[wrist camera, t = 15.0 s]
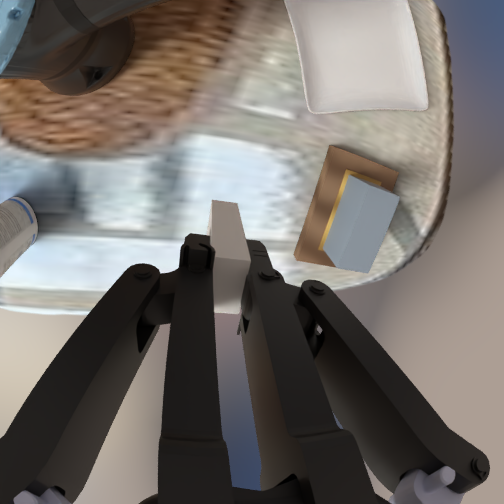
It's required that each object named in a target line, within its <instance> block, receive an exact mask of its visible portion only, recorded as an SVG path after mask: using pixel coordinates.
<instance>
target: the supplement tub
mask: <svg viewBox="0 0 504 504" xmlns="http://www.w3.org/2000/svg"><path fill="white" fill-rule="evenodd" d="M37 232H38V224H37V219H36V216H35V214H34V211H33V209H32V208H31V206H30V205H29V204H28V203H27V202H26V201H25V200H23V199H21V198H19V197H12V198H9V199H8V200H6V201H4V202H3V203H1V204H0V277H1V276H2V275H3V274H4V273H5V272H6V271H7V270H8V269H9V268H10V266H11V265H12V264H13V263H14V262H15V261H16V260H17V259H18V258H19V257H20V256H21V255H22V254H23V253H24V252H25V251H26V250H27V249H28V248H29V247H30V246H31V245H32V244H33V243H34V241H35V239H36V237H37Z"/></svg>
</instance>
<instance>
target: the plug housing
mask: <svg viewBox="0 0 504 504" xmlns="http://www.w3.org/2000/svg"><path fill="white" fill-rule="evenodd" d="M399 199H400V197H399V196H398V195H396V194H394V193H392V192H390V191H388V190H387V189H385V188H383V187H381V186H379V185H377V184H374V183H371V182H369V181H366V180H363V179H360V178H358V177H355V176H352V175H349V176H348V179H347V182H346V185H345V188H344V191H343V194H342V197H341V200H340V202H339V205H338V208H337V211H336V214H335V217H334V219H333V222H332V225H331V227H330V230H329V233H328V236H327V238H326V241H325V243H324V246H323V250H324V251H325V252H326V254H327V255H328V256H329V258H330V259H331V260H332V262H333V263H334V265H335V266H336V267H337V268H340V269H345V270H351V271H357V272H362V273H369V271H370V268H371V266H372V264H373V262H374V260H375V257H376V255H377V253H378V251H379V248H380V246H381V244H382V242H383V239H384V237H385V234H386V232H387V230H388V227H389V225H390V222H391V220H392V217H393V215H394V212H395V210H396V207H397V204H398V202H399Z"/></svg>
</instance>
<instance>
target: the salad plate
mask: <svg viewBox="0 0 504 504" xmlns="http://www.w3.org/2000/svg"><path fill="white" fill-rule="evenodd" d="M284 3H285V6H286V9H287V12H288V15H289V18H290V21H291V25H292V28H293V32H294V36H295V40H296V44H297V49H298V54H299V59H300V65H301V71H302V79H303V86H304V93H305V99H306V104H307V107H308V109H309V111H310V112H311V113H314V114H329V113H339V112H349V111H362V110H407V111H425V110H427V109H428V93H427V85H426V79H425V72H424V67H423V61H422V56H421V51H420V46H419V41H418V37H417V32H416V28H415V24H414V20H413V17H412V13H411V9H410V6H409V3H408V0H284Z"/></svg>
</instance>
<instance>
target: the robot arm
mask: <svg viewBox="0 0 504 504" xmlns="http://www.w3.org/2000/svg"><path fill="white" fill-rule="evenodd" d="M167 1H170V0H0V79H31V80H39V81H41V82H42V83H43V84H44V85H45V86H46V87H47V88H48V89H50V90H51V91H53V92H55V93H58V94H61V95H70V96H78V95H84V94H87V93H90V92H93V91H95V90H97V89H99V88H100V87H102V86H103V85H105V84H106V83H107V82H109V81H110V80H111V79H112V78H113V77H114V76H115V75H116V74H117V73H118V72H119V70H120V69H121V68H122V66H123V65H124V64H125V62H126V60H127V58H128V56H129V54H130V52H131V49H132V46H133V42H134V25H133V22H132V20H131V18H130V16H129V15H132V14H134V13H137V12H139V11H142V10H144V9H147V8H150V7H153V6H155V5H158V4H161V3H164V2H167ZM240 306H241V309H242V314H241V319H240V322H239V327H238V330H237V335H239V334H240V331H241V333H242V341H243V348H244V355H245V362H246V369H247V376H248V383H249V389H250V395H251V402H252V408H253V414H254V421H255V428H256V434H257V440H258V446H259V452H260V458H261V465H262V466H261V467H262V469H261V475H260V485H261V491H257V490H250V489H243V488H237V487H232V482H231V474H230V465H229V456H228V450H227V445H226V442H225V441H224V440H223V437H222V429H221V417H220V404H219V391H218V376H217V360H216V342H215V320H214V312H218V313H231V314H239V311H240ZM168 323H171V325H170V334H169V342H168V352H167V361H166V371H165V383H164V396H163V411H162V429H161V436H160V439H159V451H158V494H155V495H153V496H151V497H149V498H147V499H145V500H143V501H142V502H140V503H139V504H460V502H461V500H462V498H463V496H464V494H465V493H466V492H467V491H469V490H471V489H473V488H475V487H476V486H478V485H480V484H481V483H483V482H484V481H485V480H486V479H487V477H488V475H489V471H490V465H489V460H488V458H487V456H486V455H485V454H484V453H483V452H482V451H480V450H479V449H477V448H476V447H475V446H473V445H472V444H470V443H469V442H467V441H466V440H465V439H463V438H462V437H460V436H459V435H457V434H456V433H455V432H453V431H452V430H450V429H449V428H448V427H447V425H446V424H445V423H444V422H443V420H442V419H441V418H440V416H439V415H438V414H437V413H436V411H434V409H433V408H432V407H431V405H430V404H429V403H428V402H427V401H426V399H425V398H424V397H423V395H422V394H421V393H420V392H419V391H418V389H417V388H416V387H415V386H414V384H413V383H412V382H411V381H410V380H409V379H408V377H407V376H406V375H405V374H404V373H403V371H402V370H401V369H400V368H399V366H398V365H397V364H396V363H395V362H394V361H393V359H392V358H391V357H390V356H389V355H388V354H387V352H386V351H385V350H384V349H383V348H382V346H381V345H380V344H379V343H378V342H377V341H376V340H375V338H374V337H373V336H372V335H371V334H370V333H369V331H368V330H367V329H366V328H365V327H364V326H363V325H362V324H361V322H360V321H359V320H358V319H357V318H356V317H355V316H354V314H352V312H351V311H350V310H349V309H348V308H347V307H346V305H345V304H344V303H343V302H342V301H341V300H340V299H339V298H338V297H337V295H336V294H335V293H334V292H333V291H332V290H331V289H330V288H329V287H328V286H327V285H326V284H324V283H322V282H320V281H317V280H306V281H304V282H303V283H302V285H301V288H300V287H297V286H293V285H290V284H287V283H285V281H284V278H283V276H282V275H281V273H279V272H278V271H277V270H275V269H273V267H272V264H271V261H270V258H269V256H268V253H267V250H266V247H265V246H264V245H263V244H262V243H261V242H260V241H256V240H248V239H246V238H245V234H244V230H243V225H242V221H241V217H240V213H239V209H238V205H237V203H231V202H224V201H217V200H212V204H211V210H210V216H209V223H208V230H207V235H200V234H192V233H190V234H189V235H188V236H186V237H185V242H184V244H183V245H182V246H181V250H180V262H179V268H178V269H176V270H175V271H172V272H169V273H162V274H160V272H159V269H157V268H156V267H155V266H153V265H150V264H145V263H142V264H135V265H132V266H130V267H129V268H128V269H127V270H126V271H125V272H124V273H123V274H122V275H121V276H120V278H119V279H118V280H117V281H116V282H115V283H114V284H113V286H112V287H111V288H110V289H109V290H108V291H107V293H106V294H105V295H104V296H103V297H102V298H101V300H100V301H99V302H98V303H97V304H96V306H95V307H94V308H93V309H92V310H91V312H90V313H89V314H88V315H87V317H86V318H85V319H84V320H83V322H82V323H81V324H80V325H79V327H78V328H77V329H76V330H75V332H74V333H73V334H72V336H71V337H70V338H69V339H68V341H67V342H66V343H65V345H64V346H63V347H62V349H61V350H60V351H59V353H58V354H57V355H56V357H55V358H54V360H53V361H52V362H51V364H50V365H49V367H48V368H47V369H46V371H45V372H44V374H43V375H42V377H41V378H40V380H39V381H38V382H37V384H36V385H35V387H34V388H33V390H32V391H31V393H30V394H29V396H28V397H27V399H26V400H25V402H24V404H23V405H22V407H21V409H20V410H19V412H18V413H17V415H16V416H15V418H14V420H13V422H12V423H11V425H10V427H9V428H8V430H7V432H6V433H5V435H4V436H3V437H2V438H0V504H73V502H74V501H75V500H76V499H77V497H78V496H79V494H80V493H81V491H82V490H83V488H84V486H85V484H86V482H87V480H88V477H89V475H90V473H91V470H92V468H93V466H94V464H95V461H96V459H97V457H98V454H99V452H100V450H101V447H102V445H103V443H104V441H105V438H106V436H107V434H108V432H109V429H110V427H111V425H112V423H113V421H114V419H115V416H116V414H117V412H118V410H119V407H120V406H121V404H122V401H123V399H124V397H125V395H126V393H127V391H128V389H129V387H130V385H131V383H132V381H133V379H134V377H135V375H136V373H137V371H138V369H139V367H140V365H141V363H142V361H143V359H144V357H145V355H146V353H147V351H148V349H149V347H150V345H151V343H152V341H153V339H154V337H155V336H156V334H157V332H158V330H159V327H160V325H162V324H168ZM318 325H319V326H320V327H321V328H322V332H321V334H320V333H319V332H318V331H317V327H318ZM332 411H333V412H332ZM333 413H334V414H335V416H336V418H337V419H338V421H339V422H340V424H341V425H342V427H343V429H340V428H339V427H338V426H337V424H336V421H335V418H334V415H333ZM363 459H364V461H365V462H366V464H367V465H368V467H369V468H370V470H371V471H372V472H373V474H374V475H375V476H376V478H377V479H378V480H379V481H380V482H381V483H382V484H383V485H384V486H385V487H386V488H387V489H388V490H390V491H391V492H392V493H393V495H392V496H391V497H390V499H389V502H388V501H387V500H385V499H383V498H382V497H380V496H379V495H377V494H375V492H374V490H373V487H372V484H371V481H370V478H369V475H368V472H367V469H366V467H365V464H364V461H363Z"/></svg>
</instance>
